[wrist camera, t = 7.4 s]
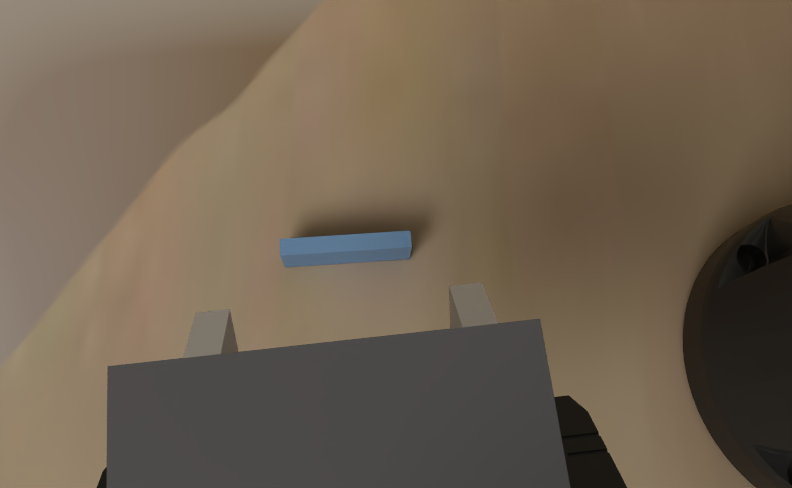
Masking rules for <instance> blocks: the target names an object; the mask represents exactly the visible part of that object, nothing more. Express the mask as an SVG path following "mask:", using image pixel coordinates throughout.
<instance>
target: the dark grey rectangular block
mask: <svg viewBox="0 0 792 488" xmlns="http://www.w3.org/2000/svg"><path fill="white" fill-rule="evenodd" d="M107 488H570V483H569V477H568V472H567V466H566V460H565V455H564V449H563V444H562V438H561V433H560V427H559V422H558V416H557V411H556V405H555V400H554V394H553V389H552V383H551V378H550V372H549V366H548V361H547V355H546V350H545V344H544V339H543V333H542V328H541V322H540V319H534V320H525V321H516V322H507V323H497V324H488V325H479V326H470V327H461V328H452V329H443V330H434V331H425V332H416V333H407V334H398V335H388V336H379V337H370V338H361V339H352V340H343V341H334V342H325V343H316V344H307V345H298V346H288V347H279V348H270V349H261V350H252V351H243V352H234V353H225V354H216V355H207V356H198V357H188V358H179V359H170V360H161V361H152V362H143V363H134V364H125V365H116V366H108V390H107Z"/></svg>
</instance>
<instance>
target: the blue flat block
mask: <svg viewBox="0 0 792 488" xmlns="http://www.w3.org/2000/svg"><path fill="white" fill-rule="evenodd" d="M411 249H412V243H411V232H410V231H395V232H380V233H364V234H349V235H333V236H318V237H302V238H287V239H280V256H281V259H282V261H283V263H284V266H285V267H298V266H313V265H328V264H343V263H358V262H372V261H387V260H402V259H409V258H410V253H411Z"/></svg>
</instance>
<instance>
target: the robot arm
mask: <svg viewBox="0 0 792 488" xmlns="http://www.w3.org/2000/svg"><path fill="white" fill-rule="evenodd" d="M449 300H450V329H452V328H461V327H470V326H479V325H488V324H497V323H498V321H497V318H496V316H495V314H494V311H493V309H492V306H491V304H490V302H489V299H488V297H487V294H486V292H485V290H484V287H483V285H482V283H472V284H463V285H453V286H449ZM234 352H238V347H237V342H236V337H235V332H234V327H233V323H232V318H231V313H230V309H227V310H218V311H208V312H199V313H196V314H195V317H194V321H193V324H192V328H191V331H190V335H189V338H188V342H187V345H186V349H185V352H184V356H183V358H188V357H198V356H207V355H216V354H225V353H234ZM683 352H684V362H685V368H686V374H687V378H688V382H689V386H690V389H691V393H692V396H693V399H694V401H695V404H696V406H697V409H698V411H699V413H700V416H701V418H702V420H703V422H704V424H705V426H706V427H707V429H708V431H709V433H710V434H711V436H712V438H713V439H714V441H715V442H716V444H717V445H718V447H719V448H720V449H721V451H722V452H723V453H724V455H725V456H726V457H727V459H728V460H729V461H730V462H731V463H732V464H733V466H734V467H735V468H736V469H737V470H738V471H739V472H740V473H741V474H742V475H743V476H744V477H745V478H746V479H747V480H748V481H749V482H750V483H751V484H752V485H754V486H755V487H756V488H792V204H791V205H788V206H786V207H783V208H780V209H778V210H775V211H773V212H771V213H769V214H767V215H765V216H764V217H762V218H760V219H758V220H757V221H755V222H753V223H752V224H750V225H748V226H747V227H745V228H743V229H742V230H740V231H739V232H737V233H736V234H734V235H733V236H731V237H730V238H729V239H728V240H726V241H725V242H724V243H723V244H722V245H721V246H720V247H719V248H718V249H717V250H716V251H715V252H714V253H713V255H712V256H711V257H710V258H709V260H708V261H707V262H706V264H705V265H704V267H703V268H702V270H701V272H700V273H699V275H698V277H697V279H696V281H695V283H694V286H693V289H692V291H691V294H690V297H689V300H688V304H687V308H686V313H685V319H684V328H683ZM554 400H555V405H556V411H557V416H558V422H559V427H560V433H561V438H562V444H563V449H564V455H565V460H566V466H567V472H568V477H569V483H570V488H627V487H626V485H625V483H624V481H623V479H622V477H621V475H620V473H619V471H618V469H617V467H616V465H615V463H614V461H613V459H612V457H611V456H610V454H609V453H608V452H607V448H606V446H605V444H604V442H603V440H602V438H601V436H599V434H598V430H597V428H596V426H595V425H594V423H593V421H592V419H591V417H590V415H589V413H588V412H587V411H586V410H585V409H584V408H583V407H582V406H580V405H579V404H578V403H577V402H576V401H575V400H573V399H572V398H571V397H570V396H569V395H568V396H560V397H554ZM97 488H107V467H106V468H105V469H104V471H103V472H102V475H101V478H100V480H99V483H98V486H97Z"/></svg>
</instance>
